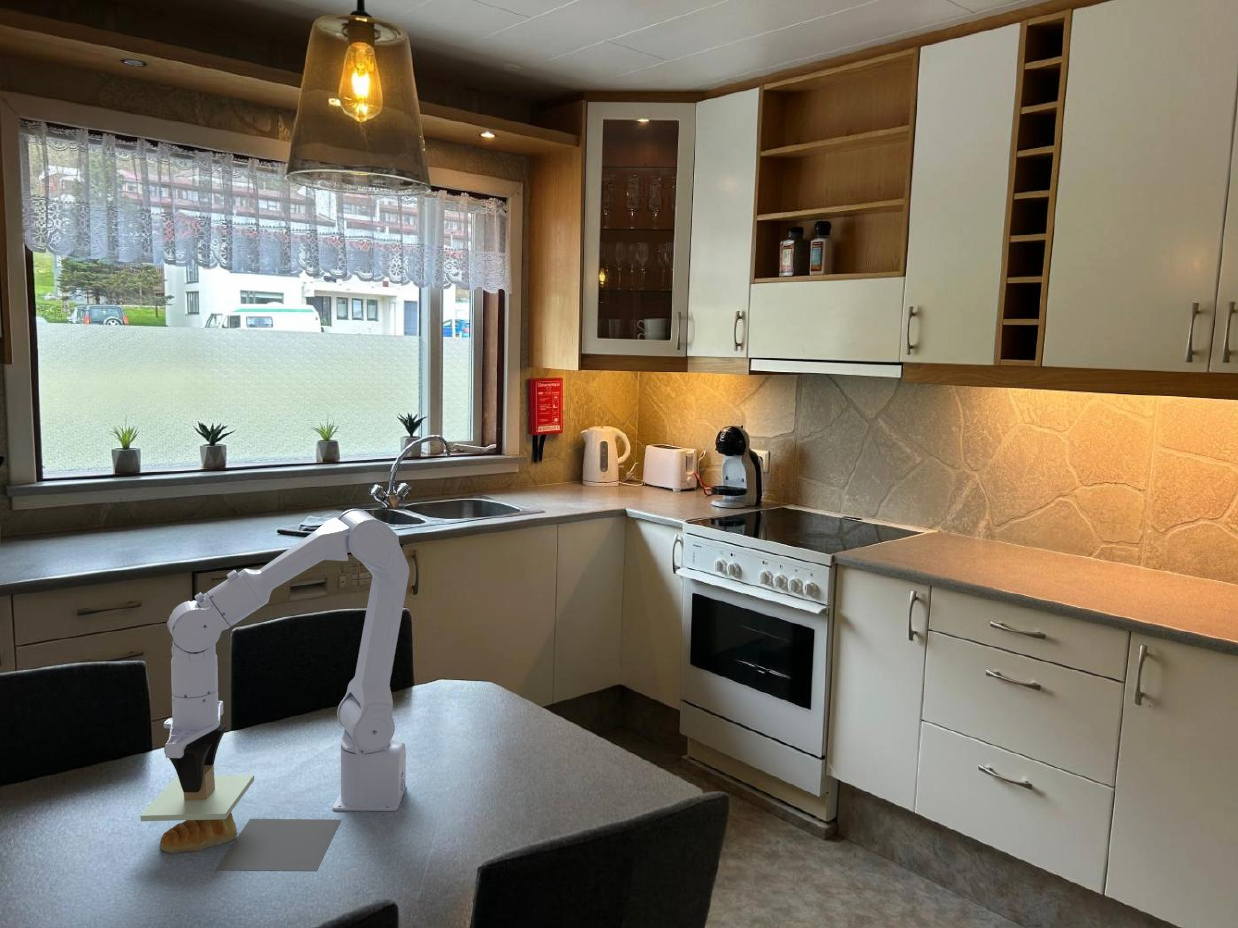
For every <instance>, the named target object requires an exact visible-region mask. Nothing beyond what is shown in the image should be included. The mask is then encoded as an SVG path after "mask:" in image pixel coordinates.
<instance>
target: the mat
mask: <svg viewBox="0 0 1238 928" xmlns="http://www.w3.org/2000/svg"><path fill="white" fill-rule="evenodd" d="M341 822H342V819H329V818H328V819H327V818H326V819H325V818H324V819H323V818H321V819H320V818H319V819H317V818H315V819H314V818H312V819H310V818H308V819H306V818H305V819H303V818H302V819H301V818H297V819H296V818H249V820H248V821H247V823H246V824H245V825H244V827H243V828H242V830H241V832H240V833H239V834H238V835H237V836H236V837H237V838H235V839H234V842H233V843H232V845H231V846H230V848H228V851H227V852H226V854H225V855H224V857H223V858H222V859H221V861H220V862H219V864H218V866H216V868H215V869H214V871H227V872H228V871H232V872H233V871H235V872H236V871H238V872H239V871H240V872H242V871H246V872H248V871H251V872H252V871H253V872H257V871H259V872H262V871H263V872H317V871H318V870H319V867H320V865H321V862H322V861H323V859H324V857H325V855H326V853H327V850H328V849H329V847H330V845H331V842H332V840H333V838H334V836H335V834H336V833H337V830H338V828H339V826H340V824H341Z"/></svg>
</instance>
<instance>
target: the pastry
mask: <svg viewBox="0 0 1238 928" xmlns="http://www.w3.org/2000/svg"><path fill="white" fill-rule="evenodd" d="M233 816H234V815H233V813H232V812H231V813H230V814H229V816H228V817H227V818H226V819H216V820H183V822H180V823H177V824H175V825H174V826H173V827H171V828H170V829H168V830H167V831H166V832H164V833H163V835H162V836H161V838H160V841H159V842H160V843H159V848H160V849H161V850H162V851H164V852H166V853H168V854H179V853H182V852H193V851H194V852H195V851H202V850H204V849H207V848H211V847H215V846H218V845H222V844H225V843H228V842H231V841H234V840H235V839H236V837H238V829H237V824H236V823H235V820H234V817H233Z"/></svg>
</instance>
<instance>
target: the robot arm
mask: <svg viewBox="0 0 1238 928" xmlns="http://www.w3.org/2000/svg"><path fill="white" fill-rule="evenodd" d="M348 553H351V554H352V556H353V557H354V558H356V559H357V561H360V562H361V564H362V565H363V566H364V567H365V568H366V569H367V570H368V571H369V572H370V574H371V575H372V577H371V583H370V588H369V589H370V590H369V595H368V601H367V605H366V606H367V607H366V611H365V616H364V623H363V628H362V633H361V640H360V645H359V650H358V658H357V661H356V662H357V663H356V666H355V667H356V668H355V673H354V674H355V675H354V677H353V678H352V679H351V680H350V681H349V683H348V685H347V688H346V689H347V690H346V693H345V695H344V697H343V699H342V700H341V701H340V703H339V704H338V707H337V711H336V712H337V713H336V717H337V721H338V723H339V724H340V726H342V727H343V728H344V732H343V734H342V735H343V736H342V738H341V740H340V792H339V794H338V796H337V798H336V800H335V802H334V804H333V806H332V810H333V811H335V812H336V811H337V812H339V811H342V812H345V811H346V812H347V811H349V812H350V811H351V812H354V811H355V812H396V811H398V810H399V808H400V804H401V801H402V799H403V796H404V793H405V791H406V788H407V784H406V776H407V774H406V772H407V771H406V769H407V768H406V767H407V765H406V763H407V761H406V760H407V757H406V756H407V755H406V754H407V751H406V749H407V748H406V744H405V743H404V742H399V741H395V740H392V739H393V737H394V735H395V729H396V725H395V721H394V718H393V706H394V701H393V695H392V691H391V686H390V685H391V677H392V673H393V666H394V661H395V654H396V650H397V649H396V648H397V643H398V638H399V633H400V628H401V622H402V616H403V611H404V604H405V600H406V595H407V594H406V593H407V588H408V582H409V577H410V565H409V563H408V561H407V559H406V557H405V554H404V552H403V549H402V547H401V545H400V539H399V535H398V534H397V533H396V532H395V531H394V530H393V529H392V528H391V527H390V526H389V525H388V524H387V523H385V521H382V520H380V519H377V518H375V517H374V516H372V515H371V513H370V512H367V511H366V510H364V509H360V508H352V509H348V510H345V511H344V512H343V513H341V514H340V515H339V516H338V517H333V518H331V519H329V520H327V521H325V522H324V523H323V524H322V525H321V526H320V527H318V528H316V530H314V531H312V533H310V534H309V535H307V536H306V537H304V538H303V539H301V540H300V541H299V542H297V543H296V544H294V545H292V546H291V547H289V548H288V549H287V550H286V551H284V552H282V553H281V554H280V555H278V556H277V557H275V558H274V559H272V560H271V561H269V562H267V564H266V565H264V566H262V567H261V568H259V569H249V568H244V569H242V570H240V571H238V572H237V571H236V569H233V570H232V571H229V572H228V573H227V574H226V577H227V579H226V580H224V581H222V582H221V583H219V584H218V585H216V586H215V587H213V588H211V589H210V590H208V591H206V592H205V593H202V592H201V591H200V592H199V593H197V594H196V595H194V599H195V600H192V601H190V600H187V601H184V602H182V603H180V604H178V605H177V606H176V607H174V609H173V610H172V611H171V612H172V613H171V614H170V615H169V617H168V620H167V622H166V625H167V630H168V631H169V633H170V634H171V636H172V642H171V644H172V646H171V656H172V657H171V660H170V669H171V670H170V672H171V673H170V676H171V679H170V680H171V710H172V713H171V714H172V715H171V717H170V718H168V719H166V720H165V721H164V722H163V728H164V729H169V735H168V739H167V741H166V743H165V744H164V746H163V747H164V750H163V751H164V754H165V758H166V759H169V761H170V762H171V763H172V765H173V767H174V769H175V772H176V775H177V777H178V778H179V781H180V784H181V787H182V790H183V792H199V791H200V789H201V785H202V780H203V770H204V765H215V761H216V755H217V752H218V748H219V746H220V743H221V740H222V738H223V736H224V734H225V732H226V730H227V725H226V724H225V723H221V716H222V715H223V714H224V701H223V700H219V678H218V677H219V676H218V667H219V666H218V655H217V654H216V653H217V651H216V650H217V649H216V648H217V647H216V646H217V645H216V644H217V642H218V641H219V640H220V638H221V634H222V632H223V631H226V630H228V629H229V628H231V627H233V626H234V625H236V624H237V623H239V622H240V621H242V620H244V619H245V618H247V617H248V616H250V615H251V614H253V613H255V612H256V611H257V610H259V609H260V608H262V607H264V606H265V605H267V604H268V603H269V600H270V598H271V597H270V596H272V595H271V594H272V592H273V590H274V589H276V588H278V587H279V586H281V585H283V584H284V583H287V582H288V581H290V580H292V579H294V578H296V576H298V575H300V574H302V573H303V572H305V571H307V570H308V569H310V568H312V567H314V566H316V565H317V564H319V563H321V562H323V561H341V562H347V561H349V555H348Z"/></svg>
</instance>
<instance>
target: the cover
mask: <svg viewBox="0 0 1238 928" xmlns="http://www.w3.org/2000/svg"><path fill="white" fill-rule="evenodd" d="M214 765H215V764H214ZM214 765H204V770H203V780H202V785H201V789H200V791H199V792H183V790H182V787H181V784H180V781H179V778H178V776H175V777H174V778H173V780H172V781H170V782H169V784H168V785H167V786H166V787H165V788H164V789H163V790H162V791H161V793H160V794H158V796H157V797H156V798H155V799H154V800H153V801H152V802H151V804H150V805H148V807H147V808H146V809H144V811H143V813H141V815H140V822H164V821H165V822H166V821H167V822H169V821H186V820H216V819H226V818H227V817H228V816H229V814H230V813H232V811H233V810H234V809H235V808H236V806H237V805H238V803H239V802H240V801H241V799H242V798H243V796H244V795H245V794H246V792H247V791H248V790H249V788H250V787H251V785H252V784H253V782H254V781H255V775H254V774H240V775H239V774H238V775H237V774H236V775H234V774H233V775H231V774H230V775H227V774H226V775H215V767H214Z"/></svg>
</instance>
